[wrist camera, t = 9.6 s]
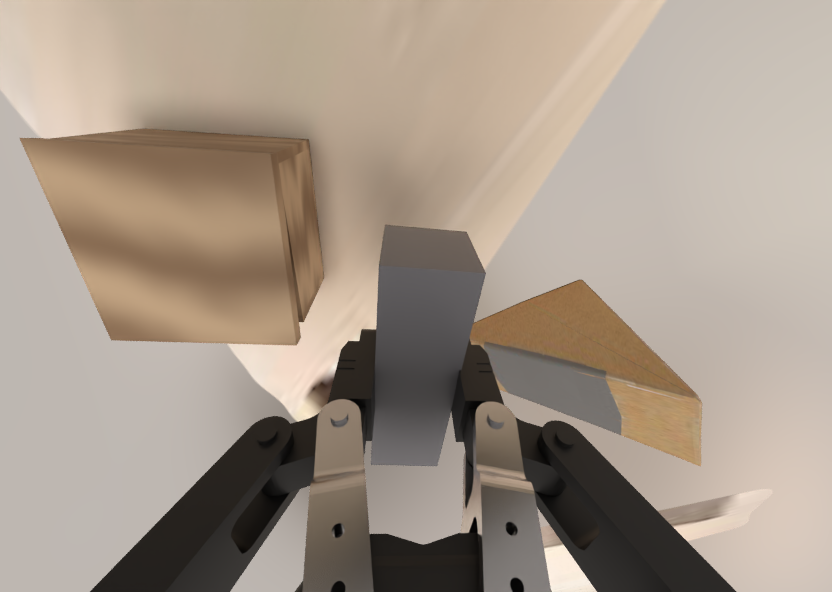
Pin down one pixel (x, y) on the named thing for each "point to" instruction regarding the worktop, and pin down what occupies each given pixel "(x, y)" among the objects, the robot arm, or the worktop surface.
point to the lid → (175, 239)
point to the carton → (293, 183)
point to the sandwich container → (591, 369)
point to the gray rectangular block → (421, 339)
